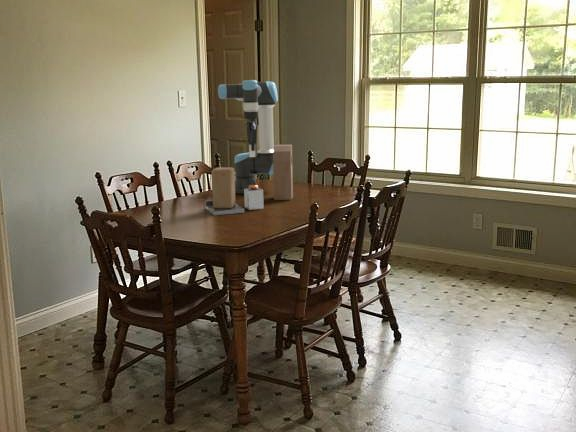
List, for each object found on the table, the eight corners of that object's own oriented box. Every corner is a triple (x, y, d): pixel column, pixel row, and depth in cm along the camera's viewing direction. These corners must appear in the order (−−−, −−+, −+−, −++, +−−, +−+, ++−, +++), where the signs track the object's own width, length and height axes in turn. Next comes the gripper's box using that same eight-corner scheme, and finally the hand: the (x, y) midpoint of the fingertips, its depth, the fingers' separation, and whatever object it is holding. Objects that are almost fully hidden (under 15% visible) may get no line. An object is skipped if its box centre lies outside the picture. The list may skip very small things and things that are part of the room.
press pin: (248, 205, 337) (247, 185, 334) (257, 204, 338) (256, 184, 336) (251, 207, 332) (250, 186, 330) (260, 206, 334) (259, 185, 331)
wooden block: (231, 208, 324) (230, 170, 320) (212, 208, 326) (210, 170, 322) (236, 205, 334) (234, 167, 330) (217, 204, 335) (215, 167, 331)
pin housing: (244, 207, 338) (244, 188, 336) (259, 205, 341) (258, 187, 338) (249, 210, 330) (248, 191, 328) (263, 208, 333) (263, 189, 331)
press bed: (205, 208, 336) (205, 200, 335) (235, 206, 341) (234, 198, 340) (213, 215, 319) (213, 206, 318) (244, 212, 325) (244, 204, 324)
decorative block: (293, 196, 364) (291, 144, 358) (291, 200, 354) (290, 146, 348) (276, 196, 365) (274, 144, 359) (273, 200, 355) (272, 146, 349)
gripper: (240, 110, 330) (242, 156, 335) (247, 111, 318) (249, 158, 323) (254, 110, 332) (255, 155, 337) (261, 111, 320) (263, 157, 325)
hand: (252, 156), depth 330 cm, fingers closed
